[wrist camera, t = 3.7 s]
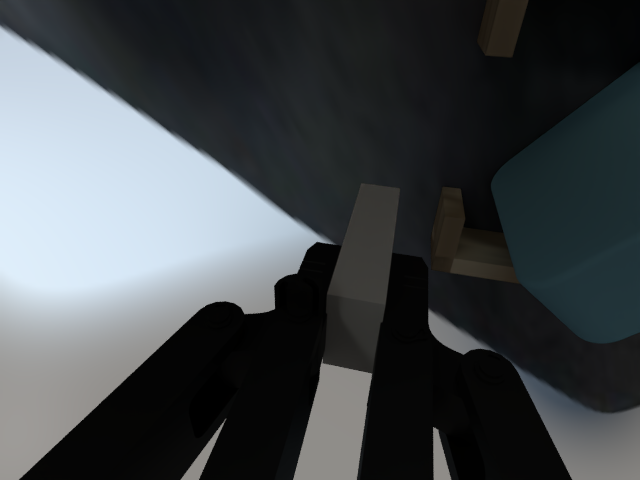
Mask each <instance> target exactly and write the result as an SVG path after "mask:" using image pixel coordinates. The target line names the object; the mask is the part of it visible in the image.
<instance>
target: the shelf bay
mask: <svg viewBox="0 0 640 480" xmlns="http://www.w3.org/2000/svg"><path fill="white" fill-rule="evenodd" d="M528 1H529V0H487V1H486V6H485V10H484V14H483V18H482V23H481V27H480V31H479V35H478V39H477V43H478V44H479V46H480V48H481V49H482V51H483V52H484V54H485V55H486V56H499V57H512V56H513V53H514V49H515V46H516V42H517V39H518V35H519V32H520V28H521V25H522V21H523V18H524V14H525V11H526V8H527V4H528ZM464 222H465V213H464V207H463V200H462V194H461V189H459V188H451V187H442V192H441V196H440V200H439V204H438V208H437V213H436V217H435V221H434V225H433V230H432V234H431V270H436V271H442V272H448V273H455V274H461V275H467V276H474V277H480V278H486V279H493V280H499V281H505V282H512V283H518V284H520V282H519V281H518V279H517V277H516V274H515V271H514V267H513V264H512V260H511V257H510V253H509V250H508V246H507V243H506V239H505V236H504V233H500V232H493V231H486V230H479V229H472V228H465V227H463V226H464Z"/></svg>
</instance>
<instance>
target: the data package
mask: <svg viewBox="0 0 640 480" xmlns="http://www.w3.org/2000/svg"><path fill="white" fill-rule="evenodd" d="M491 190H492V194H493V197H494V201H495V204H496V208H497V211H498V215H499V218H500V222H501V225H502V229H503V232H504V236H505V239H506V243H507V246H508V250H509V253H510V257H511V260H512V264H513V267H514V271H515V274H516V277H517V279H518V281H519V282H520V284H522V285H523V286H524V287H525V288H526V289H527V290H528V291H529V292H530V293H531V294H532V295H533V296H534V297H536V298H537V299H538V300H539V301H540V302H541V303H542V304H543V305H544V306H545V307H546V308H548V309H549V310H550V311H551V312H552V313H553V314H554V315H555V316H556V317H557V318H558V319H559V320H561V321H562V322H563V323H564V324H565V325H566V326H567V327H568V328H569V329H570V330H571V331H572V332H574V333H575V334H576V335H577V336H578V337H580V338H581V339H583V340H586V341H589V342H593V343H612V342H616V341H619V340H622V339H625V338H627V337H630V336H632V335H635V334H637V333H640V62H639V63H637V64H636V65H635V66H633V67H632V68H631V69H629V70H628V71H627V72H625V73H624V74H623V75H621V76H620V77H619V78H617V79H616V80H615V81H613V82H612V83H611V84H609V85H608V86H607V87H605V88H604V89H603V90H601V91H600V92H599V93H598V94H596V95H595V96H594V97H592V98H591V99H590V100H588V101H587V102H586V103H584V104H583V105H582V106H580V107H579V108H578V109H576V110H575V111H574V112H572V113H571V114H570V115H568V116H567V117H566V118H564V119H563V120H562V121H560V122H559V123H558V124H556V125H555V126H554V127H552V128H551V129H550V130H548V131H547V132H546V133H545V134H543V135H542V136H541V137H539V138H538V139H537V140H535V141H534V142H533V143H531V144H530V145H529V146H527V147H526V148H525V149H523V150H522V151H521V152H519V153H518V154H517V155H515V156H514V157H513V158H511V159H510V160H509V161H508V162H506V163H505V164H504V165H503V166H502V167H501V168H500V169H499V170H498V171H497V173H496V174H495V176H494V177H493V179H492V182H491Z"/></svg>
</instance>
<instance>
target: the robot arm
mask: <svg viewBox="0 0 640 480" xmlns="http://www.w3.org/2000/svg"><path fill="white" fill-rule="evenodd" d="M399 194H400V188H394V187H386V186H379V185H371V184H363V183H361V186H360V189H359V193H358V196H357V199H356V202H355V206H354V209H353V212H352V215H351V218H350V222H349V225H348V228H347V231H346V235H345V238H344V241H343V244H342V246H339V245H333V244H326V243H320V242H316V243H315V244H314V245H313V246H311V247H310V248H309V249H308V250H307V252H306V254H305V257H304V259H303V261H302V264H301V266H300V269H299V271H298V273H297V274H293V275H288V276H285V277H284V278H282V279H280V280H279V281H278V282H277V283H276V285H275V286H274V290H275V309H274V310H272V311H269V312H264V313H258V314H257V313H256V314H244V313H243V311H242V309H241V307H239V306H237V305H236V304H234V303H230V302H226V301H225V302H215V303H212V304H209V305H206V306H205V307H203V308H202V309H200V310H199V311H198V312H197V313H196V314H195V315H194V316H193V317H192V318H191V319H189V320H188V321H187V322H186V323H185V324H184V325H183V326H182V327H181V328H180V329H179V330H178V331H177V332H176V333H175V334H173V335H172V336H171V337H170V338H169V339H168V340H167V341H166V342H165V343H164V344H163V345H162V346H161V347H160V348H159V349H157V350H156V352H154V353H153V354H152V355H151V356H150V357H149V358H148V359H147V360H146V361H145V362H144V363H143V364H142V365H141V366H140V367H138V368H137V369H136V370H135V371H134V372H133V373H132V374H131V375H130V376H129V377H128V378H127V379H126V380H125V381H123V383H121V385H119V386H118V387H117V388H116V389H115V390H114V391H113V392H112V393H111V394H110V395H109V396H108V397H106V398H105V399H104V400H103V401H102V402H101V403H100V404H99V405H98V406H97V407H96V408H95V409H94V410H93V411H92V412H91V413H90V414H88V416H86V417H85V418H84V420H82V421H81V422H80V423H79V424H78V425H77V426H76V427H75V428H74V429H72V430H71V431H70V432H69V433H68V434H67V435H66V436H65V437H64V438H63V439H62V440H61V441H60V442H59V443H58V444H57V445H55V446H54V447H53V448H52V449H51V450H50V451H49V452H48V453H47V454H46V455H45V456H44V457H43V458H42V459H41V460H40V461H38V462H37V463H36V464H35V465H34V466H33V467H32V468H31V469H30V470H29V471H28V472H27V473H26V474H25V475H24V476H23V477H22V478H20V479H19V480H181V478H182V477H183V476H184V474H185V473H186V471H187V470H188V469H189V468H190V466H191V464H192V463H193V462H194V461H195V459H196V458H197V457H198V455H199V454H200V453H201V451H202V450H203V448H204V447H205V446H206V445H207V443H208V442H209V441H210V439H211V438H212V437H213V435H214V434H215V432H216V431H217V430H218V428H219V427H220V425H221V424H222V423H223V422H224V420H225V419H226V421H225V423H224V425H223V427H222V430H221V432H220V434H219V436H218V438H217V440H216V443H215V445H214V447H213V449H212V452H211V454H210V456H209V459H208V461H207V463H206V465H205V467H204V470H203V472H202V475H201V476H200V479H199V480H293V478H294V474H295V470H296V466H297V463H298V458H299V455H300V451H301V447H302V444H303V439H304V436H305V432H306V428H307V424H308V420H309V417H310V413H311V409H312V405H313V401H314V397H315V394H316V389H317V386H318V382H319V375H320V366H321V362H322V359H323V363H324V364H329V365H335V366H339V367H344V368H349V369H353V370H358V371H363V372H368V373H372V380H371V385H370V391H369V396H368V403H367V412H366V419H365V426H364V433H363V441H362V447H361V454H360V461H359V469H358V476H357V480H434V478H433V427H434V428H436V429H438V430H439V436H440V439H441V443H442V447H443V450H444V454H445V457H446V461H447V465H448V469H449V472H450V476H451V480H572V479H571V477H570V475H569V473H568V471H567V469H566V467H565V465H564V463H563V461H562V459H561V457H560V455H559V453H558V451H557V449H556V447H555V445H554V443H553V441H552V439H551V437H550V435H549V433H548V431H547V429H546V427H545V425H544V423H543V421H542V419H541V417H540V415H539V413H538V412H537V409H536V407H535V405H534V403H533V401H532V399H531V398H530V396H529V393H528V391H527V389H526V388H525V386H524V384H523V382H522V380H521V378H520V376H519V374H518V372H517V370H516V369H515V367H514V366H513V365H512V363H511V362H510V361H508V360H507V359H506V358H504V357H503V356H502V355H500V354H498V353H495V352H493V351H491V350H485V349H475V350H470V351H469V352H467V353H466V354H464V355H463V354H461V353H459V352H456V351H454V350H452V349H450V348H448V347H446V346H444V345H443V344H442V343H440V342H439V341H438V340H437V339H436V338H435V337H434V336H433V334H432V333H431V331H430V329H429V324H428V267H427V265H426V264H425V262H424V260H423V259H422V257H415V256H409V255H403V254H396V253H392V249H393V241H394V233H395V226H396V218H397V210H398V202H399Z"/></svg>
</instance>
